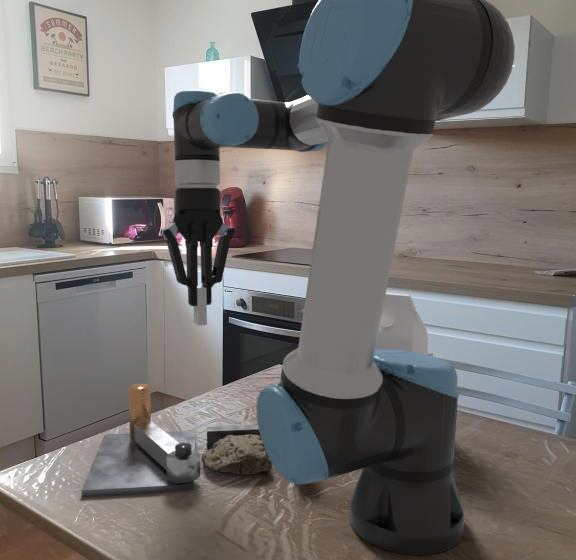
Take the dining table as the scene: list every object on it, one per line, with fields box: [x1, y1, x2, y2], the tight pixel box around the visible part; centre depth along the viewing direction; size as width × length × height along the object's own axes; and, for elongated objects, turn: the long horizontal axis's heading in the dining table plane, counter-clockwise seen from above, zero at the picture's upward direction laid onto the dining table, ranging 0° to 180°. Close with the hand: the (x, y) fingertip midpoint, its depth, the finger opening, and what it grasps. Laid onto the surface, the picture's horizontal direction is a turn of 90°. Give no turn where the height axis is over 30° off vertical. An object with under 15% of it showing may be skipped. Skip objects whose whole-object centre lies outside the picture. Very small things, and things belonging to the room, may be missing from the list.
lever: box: [128, 383, 201, 483], centre depth 95 cm, size 21×5×9 cm, turn 36°
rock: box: [200, 435, 273, 476], centre depth 96 cm, size 11×11×4 cm
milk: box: [375, 292, 429, 355], centre depth 108 cm, size 12×12×26 cm
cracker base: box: [81, 424, 261, 498], centre depth 97 cm, size 20×34×7 cm, turn 98°
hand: (200, 323), depth 103 cm, fingers closed
